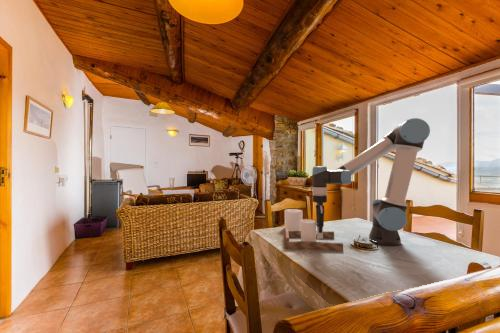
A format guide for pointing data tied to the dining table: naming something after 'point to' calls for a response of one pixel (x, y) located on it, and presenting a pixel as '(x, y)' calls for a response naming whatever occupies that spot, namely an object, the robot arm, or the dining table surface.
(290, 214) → the cup
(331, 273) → the dining table surface
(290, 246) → the brown rectangular tray
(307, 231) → the mug
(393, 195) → the robot arm
